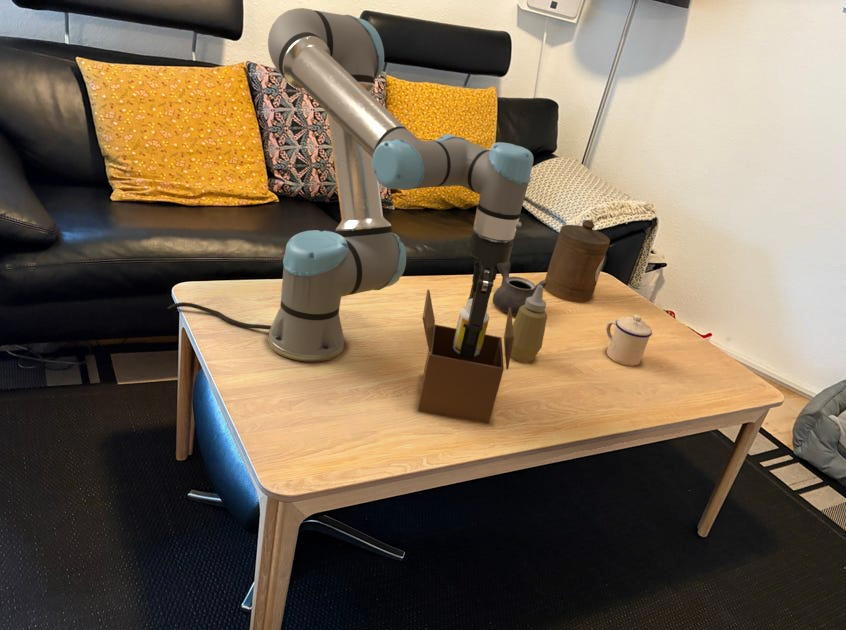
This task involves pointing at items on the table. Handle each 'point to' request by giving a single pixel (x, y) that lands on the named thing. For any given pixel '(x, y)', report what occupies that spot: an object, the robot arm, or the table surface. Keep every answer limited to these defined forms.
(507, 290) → the teapot
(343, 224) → the robot arm
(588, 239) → the wooden container
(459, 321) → the supplement bottle
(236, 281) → the table surface
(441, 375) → the carton
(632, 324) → the teacup with lid
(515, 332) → the squeeze bottle
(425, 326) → the flap
